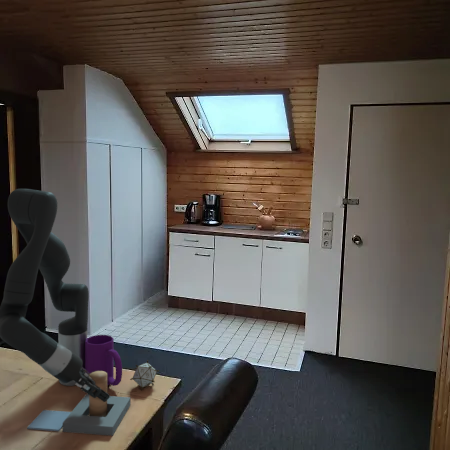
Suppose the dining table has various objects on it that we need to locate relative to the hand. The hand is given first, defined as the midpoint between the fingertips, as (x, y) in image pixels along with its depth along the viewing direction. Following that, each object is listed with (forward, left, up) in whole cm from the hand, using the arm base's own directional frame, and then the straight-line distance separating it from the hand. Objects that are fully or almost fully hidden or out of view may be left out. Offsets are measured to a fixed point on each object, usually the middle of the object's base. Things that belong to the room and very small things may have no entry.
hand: (104, 394), depth 128 cm
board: (+1, -1, -7) cm, 7 cm away
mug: (-18, -6, -7) cm, 21 cm away
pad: (+5, -14, -7) cm, 16 cm away
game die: (-19, +7, -7) cm, 22 cm away
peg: (+1, -2, -6) cm, 6 cm away
